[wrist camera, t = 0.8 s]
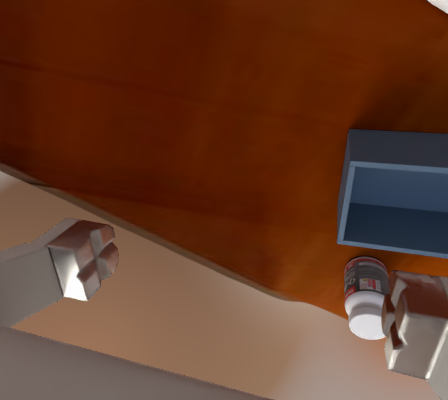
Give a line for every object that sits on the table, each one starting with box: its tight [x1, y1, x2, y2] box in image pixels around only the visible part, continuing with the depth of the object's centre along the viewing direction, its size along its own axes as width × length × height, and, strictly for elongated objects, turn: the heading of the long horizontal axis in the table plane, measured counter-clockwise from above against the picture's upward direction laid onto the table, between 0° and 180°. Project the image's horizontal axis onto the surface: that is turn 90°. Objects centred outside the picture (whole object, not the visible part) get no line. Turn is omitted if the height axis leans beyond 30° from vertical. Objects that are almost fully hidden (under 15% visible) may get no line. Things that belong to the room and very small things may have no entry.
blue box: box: [337, 129, 448, 259], centre depth 36 cm, size 10×20×8 cm, turn 93°
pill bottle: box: [345, 257, 390, 340], centre depth 45 cm, size 6×6×10 cm
